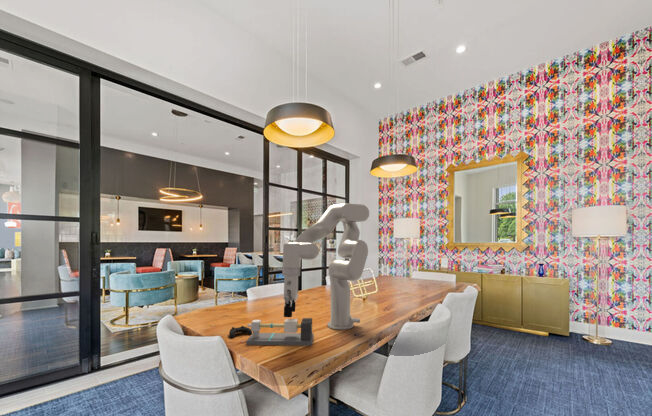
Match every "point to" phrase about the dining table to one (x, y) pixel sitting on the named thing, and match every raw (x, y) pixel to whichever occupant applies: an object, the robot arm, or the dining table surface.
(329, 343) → the dining table surface
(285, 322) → the sleeve
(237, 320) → the dining table surface
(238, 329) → the game controller
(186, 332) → the dining table surface
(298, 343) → the board
